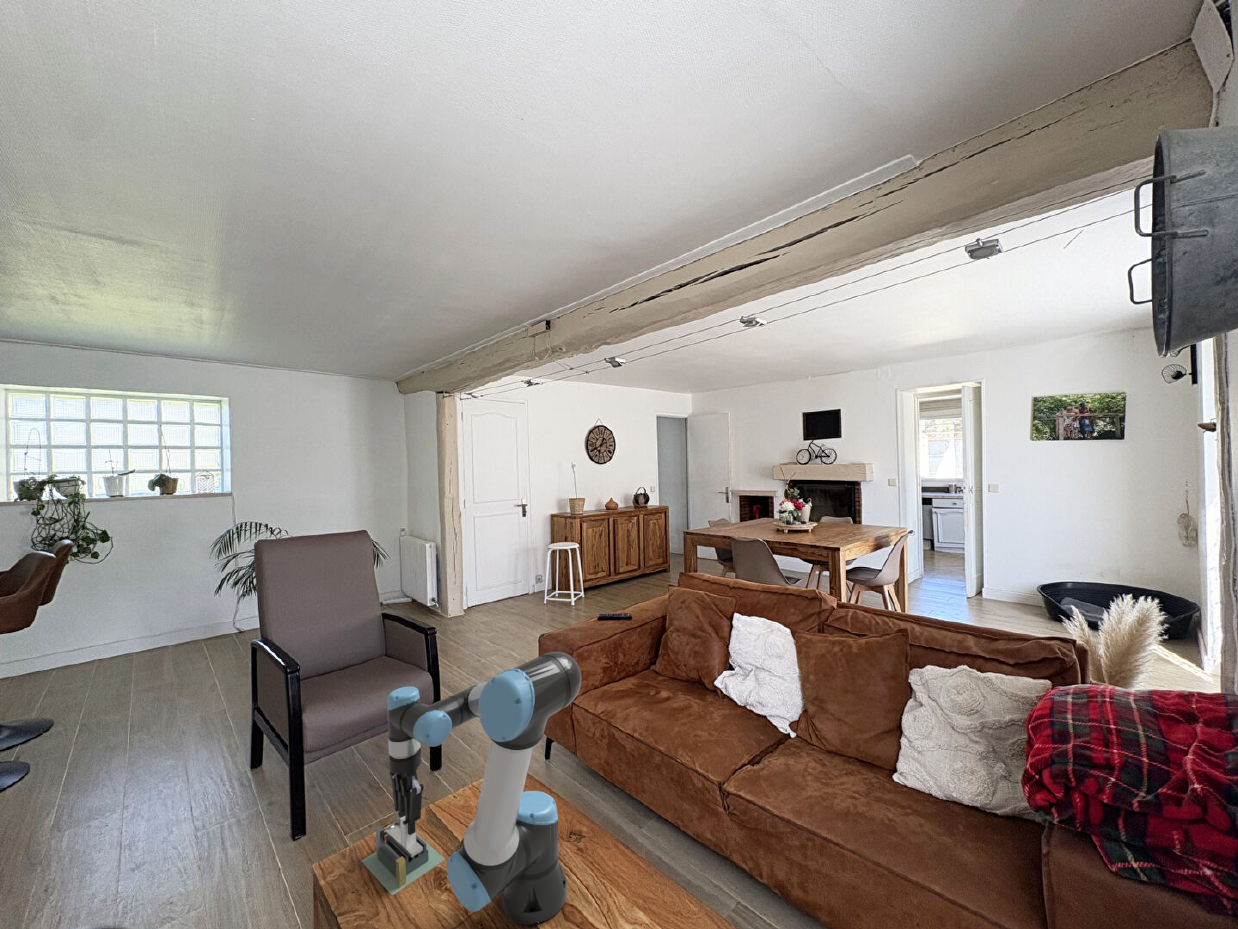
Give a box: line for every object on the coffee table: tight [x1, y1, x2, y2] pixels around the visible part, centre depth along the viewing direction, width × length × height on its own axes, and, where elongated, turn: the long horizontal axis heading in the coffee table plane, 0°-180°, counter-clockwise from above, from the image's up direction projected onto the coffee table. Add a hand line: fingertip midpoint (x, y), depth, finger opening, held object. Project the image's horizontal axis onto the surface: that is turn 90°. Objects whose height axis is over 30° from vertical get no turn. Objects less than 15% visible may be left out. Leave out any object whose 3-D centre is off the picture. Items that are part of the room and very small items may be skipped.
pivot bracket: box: [375, 814, 400, 855], centre depth 137 cm, size 2×7×7 cm, turn 139°
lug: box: [396, 857, 406, 888], centre depth 125 cm, size 2×2×6 cm
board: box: [361, 833, 446, 896], centre depth 133 cm, size 17×14×1 cm
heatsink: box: [378, 835, 429, 878], centre depth 133 cm, size 11×8×5 cm
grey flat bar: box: [384, 821, 423, 857], centre depth 133 cm, size 15×4×1 cm, turn 50°
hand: (408, 843), depth 131 cm, fingers closed on grey flat bar
